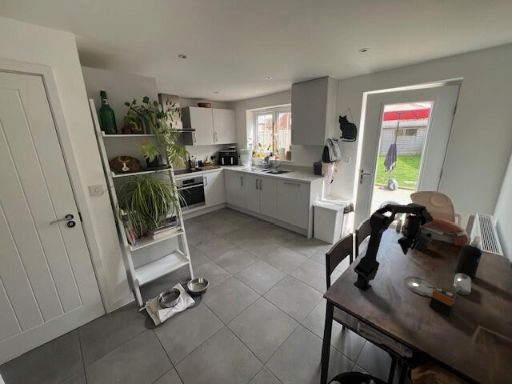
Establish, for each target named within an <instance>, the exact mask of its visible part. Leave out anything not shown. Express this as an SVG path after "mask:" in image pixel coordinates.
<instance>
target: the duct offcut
mask: <svg viewBox="0 0 512 384" xmlns="http://www.w3.org/2000/svg"><path fill="white" fill-rule="evenodd" d="M452 286H453V289H454V291H455V292H457V293H458V294H460V295H463V296H465V295H469V294H471V291H472V279H471V278H470V277H469V276H467V275H466V274H462V273H459V274H456V273H455V276H454V281H453V285H452Z"/></svg>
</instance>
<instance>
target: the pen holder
mask: <svg viewBox="0 0 512 384" xmlns="http://www.w3.org/2000/svg"><path fill="white" fill-rule="evenodd" d="M428 246H429V244H428V245H424V244H423V243H422V242H420V241H419V242H418V243H417V244H416V246H415V248H414V249H415V250H417V251H421V252H423V251H426V250H427V249H428Z"/></svg>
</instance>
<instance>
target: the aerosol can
mask: <svg viewBox="0 0 512 384" xmlns="http://www.w3.org/2000/svg"><path fill="white" fill-rule="evenodd" d="M460 248H461V249H460V252H459V257H458V260H457V263H456V268H455V270H454V273H455V275H456V274H459V273H462V274H466V275H467V276H469V277H470V278H471V280H475V279H476V274H477V272H478V271H477V270H478V268H479V265H480V261H481V258H482V254H483V251H482V250H481V248H479V247H478V246H477V242H475V241H471V242H470V244H465V245H464V244H463V245H462V246H460Z"/></svg>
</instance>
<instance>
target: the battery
mask: <svg viewBox="0 0 512 384" xmlns="http://www.w3.org/2000/svg"><path fill="white" fill-rule="evenodd" d="M456 297H457V296H456V294H454V293H452V292H451V291H446V290H445V289H442V288H440V287H439V286H436V288H435V289H434V290H433V293H432V297H430V302H429V308H430V309H432V310H435V311H437V312H439V313H441V314H442V315H444V316H446V317H449V316H450V315H451V313H452V311H453V309H454V305H455V302H456V301H455V300H456Z"/></svg>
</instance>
